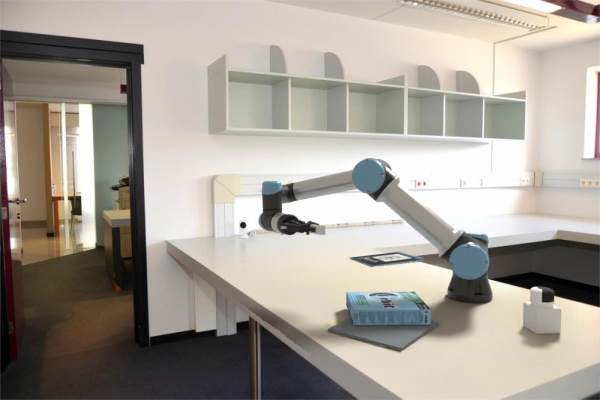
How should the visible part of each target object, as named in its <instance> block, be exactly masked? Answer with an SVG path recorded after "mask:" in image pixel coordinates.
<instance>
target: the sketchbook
mask: <svg viewBox="0 0 600 400" xmlns="http://www.w3.org/2000/svg"><path fill="white" fill-rule="evenodd" d="M349 259H350V260H352V261H355V262H358V263H360V264H363V265H365V264H366V266H369V267H371V268H374V267H375V266H377V267H383V266H384V265H385V266H392V265H393V264H394V265H401V264H402V263H403V264H409V263H410V262H412V263H420V262H424V258H423V257H420V256H416V255H413V254H409V253H406V252H403V251H400V250H399V251H394V252H385V253H378V254H377V253H376V254H368V255H367V254H366V255H359V256H352V257H349ZM416 261H417V262H416ZM410 264H411V263H410ZM375 268H376V267H375Z"/></svg>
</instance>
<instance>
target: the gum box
mask: <svg viewBox="0 0 600 400" xmlns="http://www.w3.org/2000/svg"><path fill="white" fill-rule="evenodd" d="M345 294H346V295H345V296H346V297H345V298H346V299H345V300H346V301H345V302H346V303H345V304H346V308H347V312H348V314H349V318H351V320H352V324H353V325H431V321H432V309H431V308H430V307H429V306H428V304H427V303H426V302H425V301H424V300H423V299H422V298H421V297H420V296H419V294H418V293H417V292H416V291H346V293H345Z"/></svg>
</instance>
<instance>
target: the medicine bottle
mask: <svg viewBox="0 0 600 400" xmlns="http://www.w3.org/2000/svg"><path fill="white" fill-rule="evenodd" d="M529 292H530V293H529V298H530V299H529V301H523V303H522V304H523V307H522V308H523V310H522V325H523V327H525V328H527V329H528V330H530V331H531V332H532V333H534V334H536V335H548V334H549V335H550V334H551V335H552V334H555V335H556V334H561V332H562V329H561V328H562V308H560V307H559V306H557V305H555V290H554V289H552V288H549V287H547V286H533V287H531V288H530V289H529Z"/></svg>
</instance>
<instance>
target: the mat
mask: <svg viewBox="0 0 600 400" xmlns="http://www.w3.org/2000/svg"><path fill="white" fill-rule="evenodd" d="M438 326H439V321H434V320H431V325H353V324H352V320H351V317H349V318H346V319H345V320H343V321H341V322H338V323H337V324H335V325H332V326H331V327H329V328H327V332H329V333H333V334H336V335H340V336H343V337H347V338H352V339H354V340H358V341H362V342H366V343H369V344H373V345H377V346H380V347H384V348H389V349H391V350H395V351H400V352H403V351H404V350H405V349H407V348H408V347H410V346H411V345H413V344H414V343H416V341H417V342H418V340H420V339H421V338H423V337H424V336H425V335H427V334H428V333H429V332H431V331H432V330H433V329H435V328H436V327H438Z"/></svg>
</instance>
